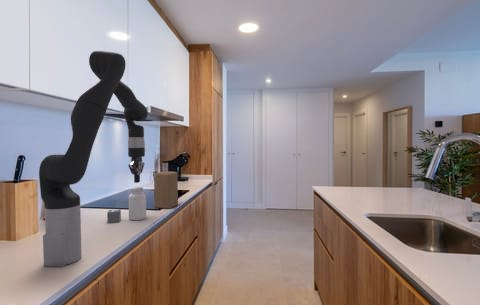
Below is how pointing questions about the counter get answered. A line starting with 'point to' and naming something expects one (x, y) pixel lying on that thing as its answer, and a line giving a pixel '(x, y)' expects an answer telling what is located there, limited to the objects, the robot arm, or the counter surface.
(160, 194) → the wooden block
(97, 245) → the counter surface
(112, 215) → the number cube
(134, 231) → the counter surface
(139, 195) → the pill bottle
